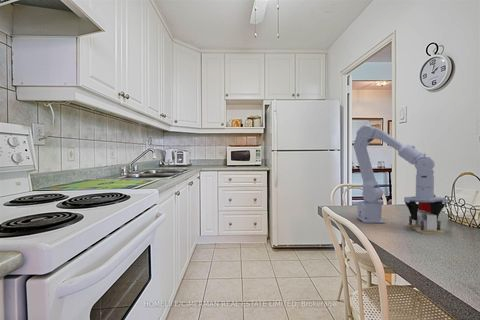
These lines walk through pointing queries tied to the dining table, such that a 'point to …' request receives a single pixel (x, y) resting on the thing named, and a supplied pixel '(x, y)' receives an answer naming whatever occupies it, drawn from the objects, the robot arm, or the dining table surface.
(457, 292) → the dining table surface
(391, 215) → the dining table surface
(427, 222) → the drive
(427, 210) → the beverage can
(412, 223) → the caddy
